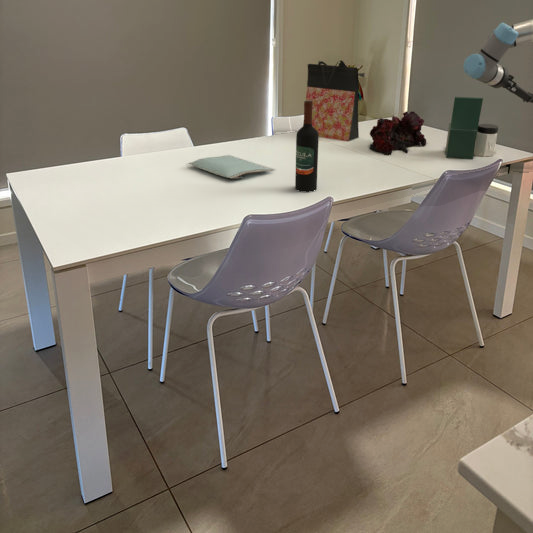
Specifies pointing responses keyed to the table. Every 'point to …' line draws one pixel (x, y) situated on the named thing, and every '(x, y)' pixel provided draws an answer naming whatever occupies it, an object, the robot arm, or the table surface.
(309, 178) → the wine bottle
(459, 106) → the tin lid
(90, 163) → the table surface
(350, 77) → the gift bag
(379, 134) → the flower arrangement
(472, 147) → the tea tin
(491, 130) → the jar
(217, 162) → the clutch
